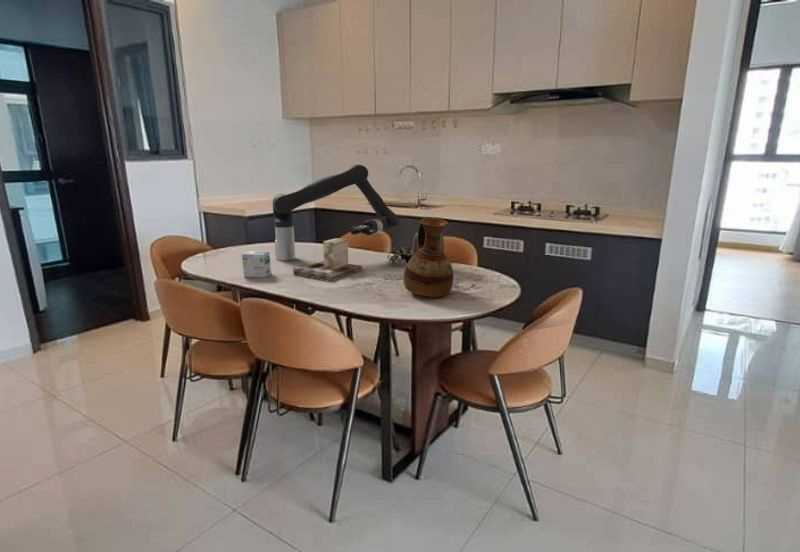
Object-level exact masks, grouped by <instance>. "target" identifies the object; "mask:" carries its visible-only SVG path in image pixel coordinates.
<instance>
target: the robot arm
mask: <svg viewBox="0 0 800 552" xmlns="http://www.w3.org/2000/svg"><path fill="white" fill-rule="evenodd" d="M368 177H369V170H368V168H367V167H366V166H365V165H364V164H363V165H362V164H353V165H352V166H350V167H349V169H346V170H345V171H343V172H341V173H338V174H334V175H329V176H326V177H325V176H324V177H322V178H319V179H316V180H314V181H312V182H310V183H308V184H307V185H305V186H304V187H302V188H300V189H298V190H296V191H293V192H290V193H288V194H287V193H286V194H285V193H279V194H277V195H274V196H275V197H274V198H273V199H272V214H273V222H274V231H275V240H274V249H275V251H274V252H275V259H276V260H278V261H283V262H284V261H286V262H287V261H293V260H295V259H296V247H295V246H296V244H295V231H294V218H293V213H292V211H293V210H295V209H297V208H299V207H301V206H303V205H306V204H308V203H312V202H315V201H318V200H320V199H324V198H326V197H328V196H330V195H332V194H334V193H336V192H339V191H341V190H342V189H345V188H347V187H350V186H352V185H356V187H357V188H358V189H359V191H360V192H361V193H362V194H363V195H364V197H365V198H366V200H367V201H368V203H369V204H370V206H371V208H372V209H373V211H374V212H375V214H376V215H377V216H379V217H380V218H379V217H378V218H372V219H368V220H365V221H363V222H362V224H361V225H359V226H355V225H353V226H352V229H351V230H350V234H351V235H357V234H358V235H359V234H360V235H365V236H372V235H376V234H378V233H380V232H387V231H388V230H389V231H390V230H392V229H393V228H396V227H398V226H399V224H400V220H399V219H400V218H399V217H398V215H397V214H396V213H395V212H394V211H393V210H392V209H390V208H389V207H388V206H387V204H386V202H385V201H384V200H383V198H382V197H381V195H380V194H379V193H378V192H377V190H375V188H374V187H373V186H372V185H371V183H370V181H369V180H368ZM382 216H383V217H382Z"/></svg>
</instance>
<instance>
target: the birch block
mask: <svg viewBox="0 0 800 552" xmlns="http://www.w3.org/2000/svg"><path fill="white" fill-rule="evenodd" d="M348 241H349V239H347V238H340V237H339V238H338V237H335V238H332V239H328V240H324V241H323V242H322V244H323V245H322V246H323V248H322V249H323V261H324V267H330V268H338V267H341V266H344V265H347V264H349V244H348V243H349V242H348Z"/></svg>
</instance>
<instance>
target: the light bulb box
mask: <svg viewBox="0 0 800 552" xmlns="http://www.w3.org/2000/svg"><path fill="white" fill-rule="evenodd" d="M241 262H242V270H243V277H244V278H267V277H268V276H271V274H272V267H271V256H270V251H268V250H267V251H263V250H262V251H256V250H255V251H253V250H252V251H250V250H248V251H246V252H243V253H241Z"/></svg>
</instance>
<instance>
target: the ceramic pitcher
mask: <svg viewBox="0 0 800 552" xmlns="http://www.w3.org/2000/svg"><path fill="white" fill-rule="evenodd" d="M422 219H423V218H422ZM422 219H421V220H420V221H419V222H420V223H419V227H418V247H419V249H418V251H417V252H416V253H415V254H414V255H413V256H412V257H411V258H410V260H409V261H408V263H406V266H405V268H404V271H403V284H404V285H403V286H404V287H405V289H406V290H407V291H408V292H410V293H412V294H416V295H420V296H425V297H441V296H442V297H443V296H445V295H447V294H449V293H450V292H451V290H452V289H453V284H454V269H453V267H452V263H451V261H450V260H449V258H448V256H447V254H445V253H444V252H442V251H441V250H440V236H441V233H442V232H443V230H444V229H445V228H446V226H447V225H448V224H449V222H448V221H447V220H445V219H442V218H436V217H431V218H426V219H423V220H422ZM442 234H443V233H442Z"/></svg>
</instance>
